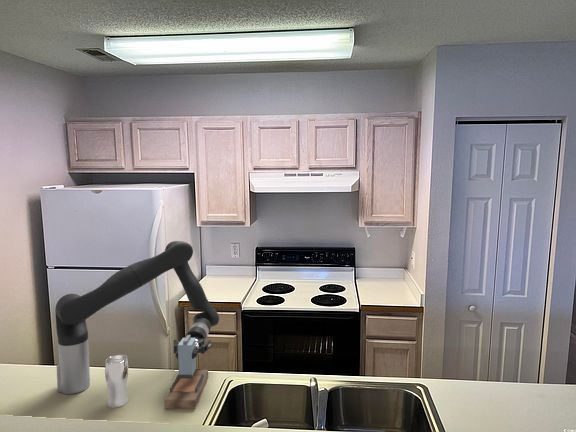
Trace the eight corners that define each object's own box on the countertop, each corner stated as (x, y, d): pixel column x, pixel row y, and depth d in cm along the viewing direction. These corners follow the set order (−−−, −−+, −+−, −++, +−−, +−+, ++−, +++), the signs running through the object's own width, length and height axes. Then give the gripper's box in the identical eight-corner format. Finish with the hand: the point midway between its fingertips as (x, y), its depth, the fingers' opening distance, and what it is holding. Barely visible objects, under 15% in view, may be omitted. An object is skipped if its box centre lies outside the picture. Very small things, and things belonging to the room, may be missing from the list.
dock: (164, 408, 125) (164, 395, 125) (181, 377, 145) (181, 366, 145) (195, 408, 125) (195, 396, 125) (208, 377, 145) (208, 366, 145)
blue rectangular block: (178, 379, 131) (177, 341, 130) (183, 369, 137) (182, 334, 136) (192, 379, 131) (191, 342, 130) (196, 369, 137) (195, 334, 136)
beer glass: (123, 409, 125) (122, 364, 123) (102, 408, 125) (100, 363, 123) (132, 396, 132) (131, 354, 130) (112, 396, 132) (110, 354, 130)
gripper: (178, 325, 147) (163, 345, 130) (215, 326, 147) (206, 345, 130) (178, 344, 148) (164, 366, 131) (215, 345, 148) (206, 366, 131)
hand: (185, 356), depth 131 cm, fingers closed on blue rectangular block, 4 cm apart
